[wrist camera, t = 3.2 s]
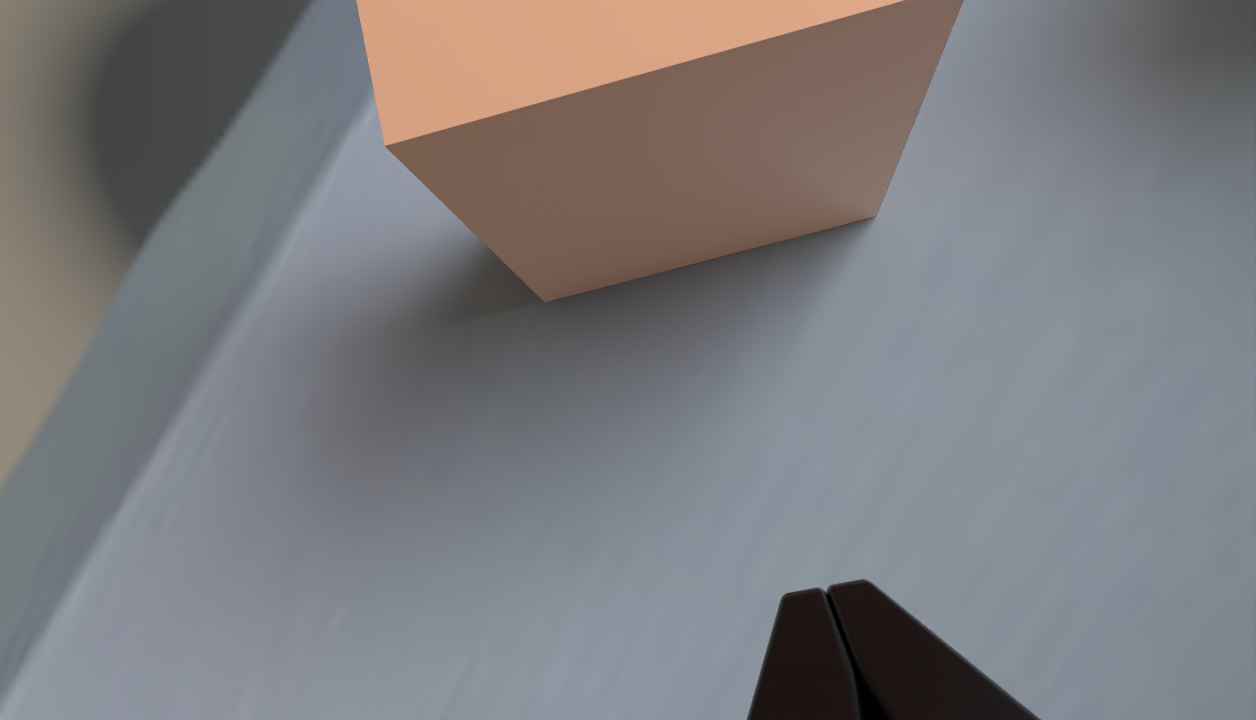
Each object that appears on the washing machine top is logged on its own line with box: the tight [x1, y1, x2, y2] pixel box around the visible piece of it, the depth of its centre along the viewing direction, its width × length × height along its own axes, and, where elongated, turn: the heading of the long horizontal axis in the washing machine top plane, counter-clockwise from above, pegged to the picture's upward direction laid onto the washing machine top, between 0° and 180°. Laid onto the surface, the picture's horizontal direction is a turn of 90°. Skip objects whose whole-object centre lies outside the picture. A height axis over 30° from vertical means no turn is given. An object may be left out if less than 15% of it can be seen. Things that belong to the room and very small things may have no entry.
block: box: [357, 0, 963, 302], centre depth 18 cm, size 3×8×10 cm, turn 103°
